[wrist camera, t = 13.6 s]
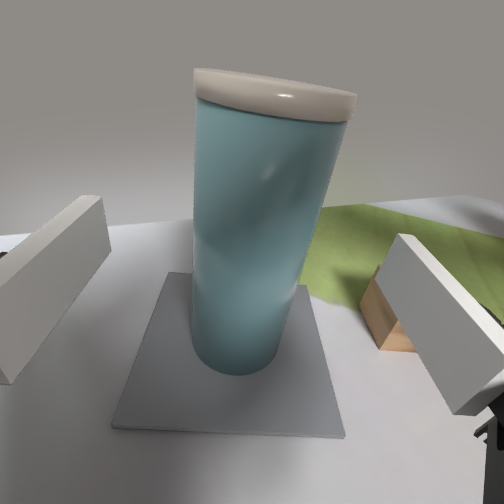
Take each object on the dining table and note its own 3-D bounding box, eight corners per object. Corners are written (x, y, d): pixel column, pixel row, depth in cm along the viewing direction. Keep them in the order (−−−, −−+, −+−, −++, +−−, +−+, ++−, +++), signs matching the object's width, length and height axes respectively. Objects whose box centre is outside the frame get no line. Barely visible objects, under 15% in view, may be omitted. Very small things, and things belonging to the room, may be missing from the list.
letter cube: (406, 310, 32) (433, 268, 29) (435, 354, 27) (472, 311, 24) (358, 305, 32) (379, 263, 28) (378, 350, 27) (407, 305, 23)
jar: (276, 305, 29) (334, 87, 18) (284, 380, 22) (386, 104, 11) (198, 298, 28) (205, 66, 17) (182, 373, 22) (177, 71, 10)
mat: (305, 288, 33) (306, 285, 33) (343, 438, 20) (345, 435, 19) (169, 275, 32) (169, 271, 31) (112, 427, 18) (111, 424, 18)
